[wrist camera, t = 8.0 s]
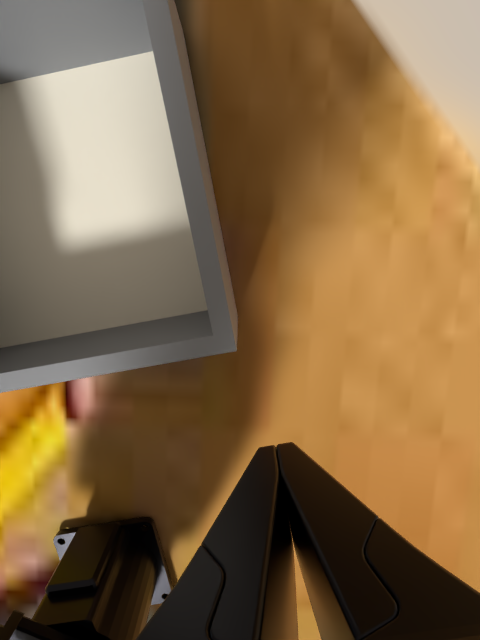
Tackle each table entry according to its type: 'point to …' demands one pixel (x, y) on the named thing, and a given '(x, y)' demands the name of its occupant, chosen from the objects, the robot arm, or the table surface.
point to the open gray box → (104, 195)
